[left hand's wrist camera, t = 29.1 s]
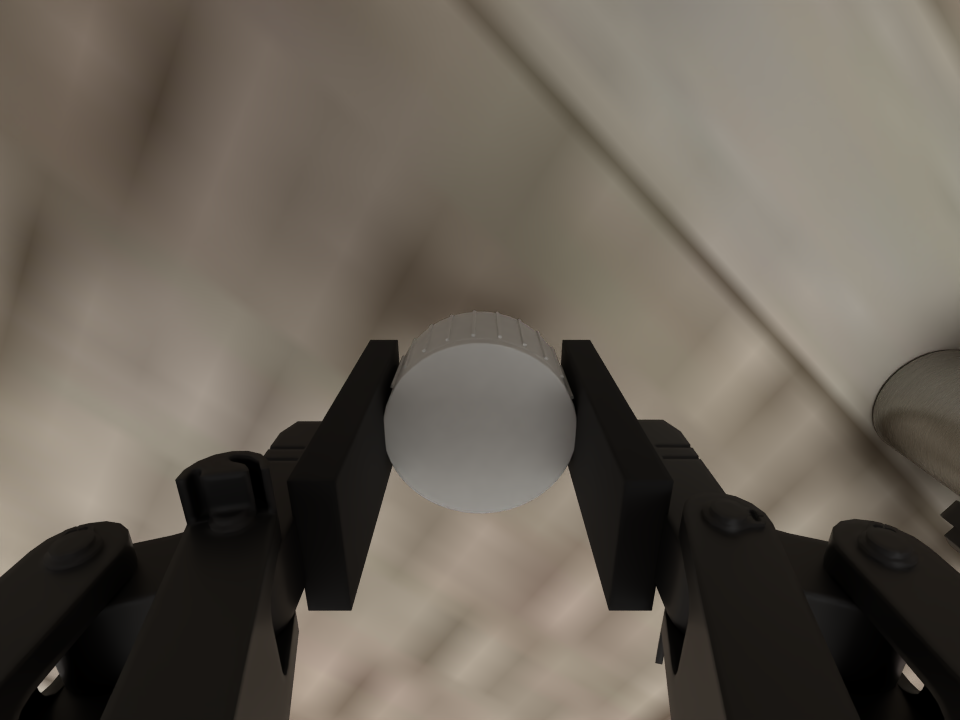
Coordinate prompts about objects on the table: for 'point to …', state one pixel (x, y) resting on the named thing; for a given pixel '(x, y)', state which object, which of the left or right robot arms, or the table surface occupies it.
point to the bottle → (924, 415)
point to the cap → (480, 414)
